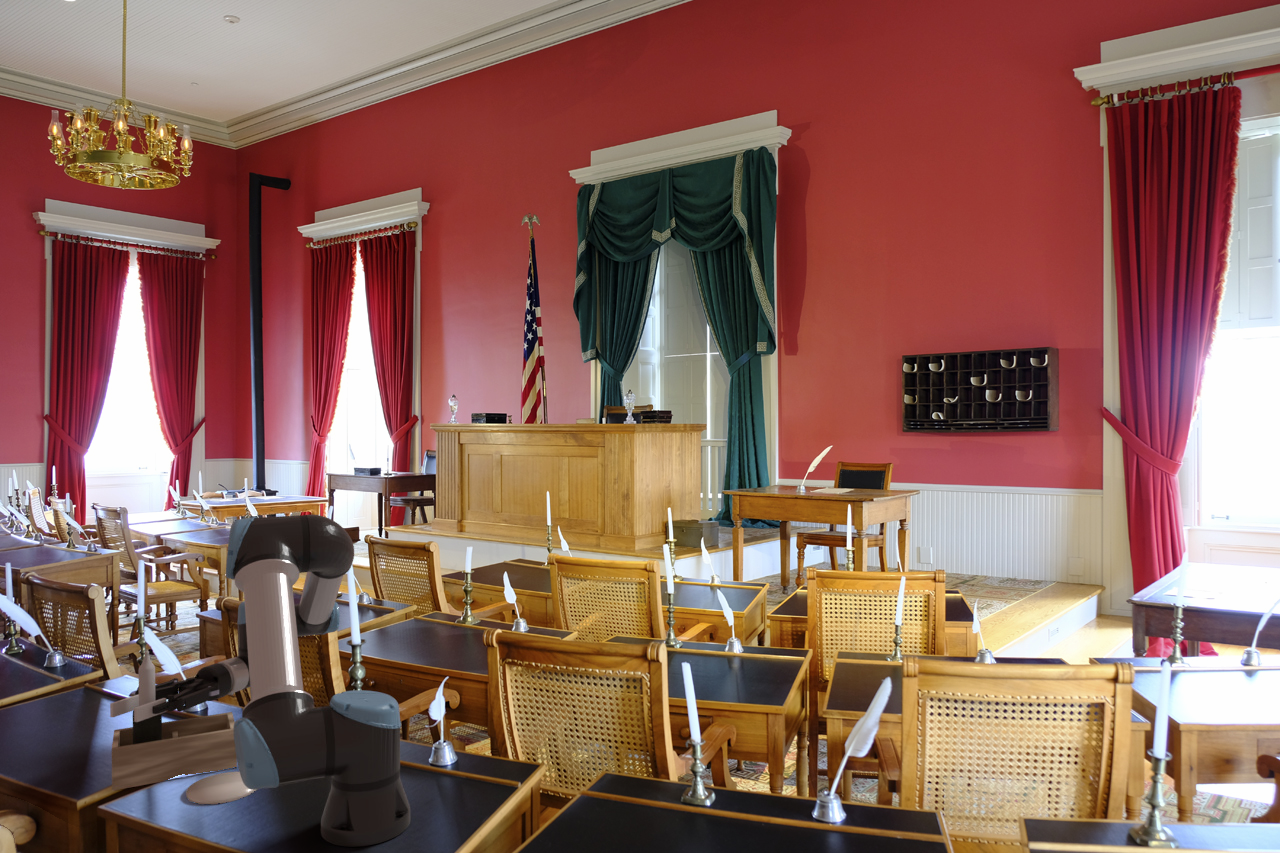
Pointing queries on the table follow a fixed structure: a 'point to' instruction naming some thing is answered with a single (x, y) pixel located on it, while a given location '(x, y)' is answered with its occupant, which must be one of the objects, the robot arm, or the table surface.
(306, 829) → the table surface
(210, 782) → the plate
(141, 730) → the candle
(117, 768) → the candle box
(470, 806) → the table surface
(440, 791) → the table surface
